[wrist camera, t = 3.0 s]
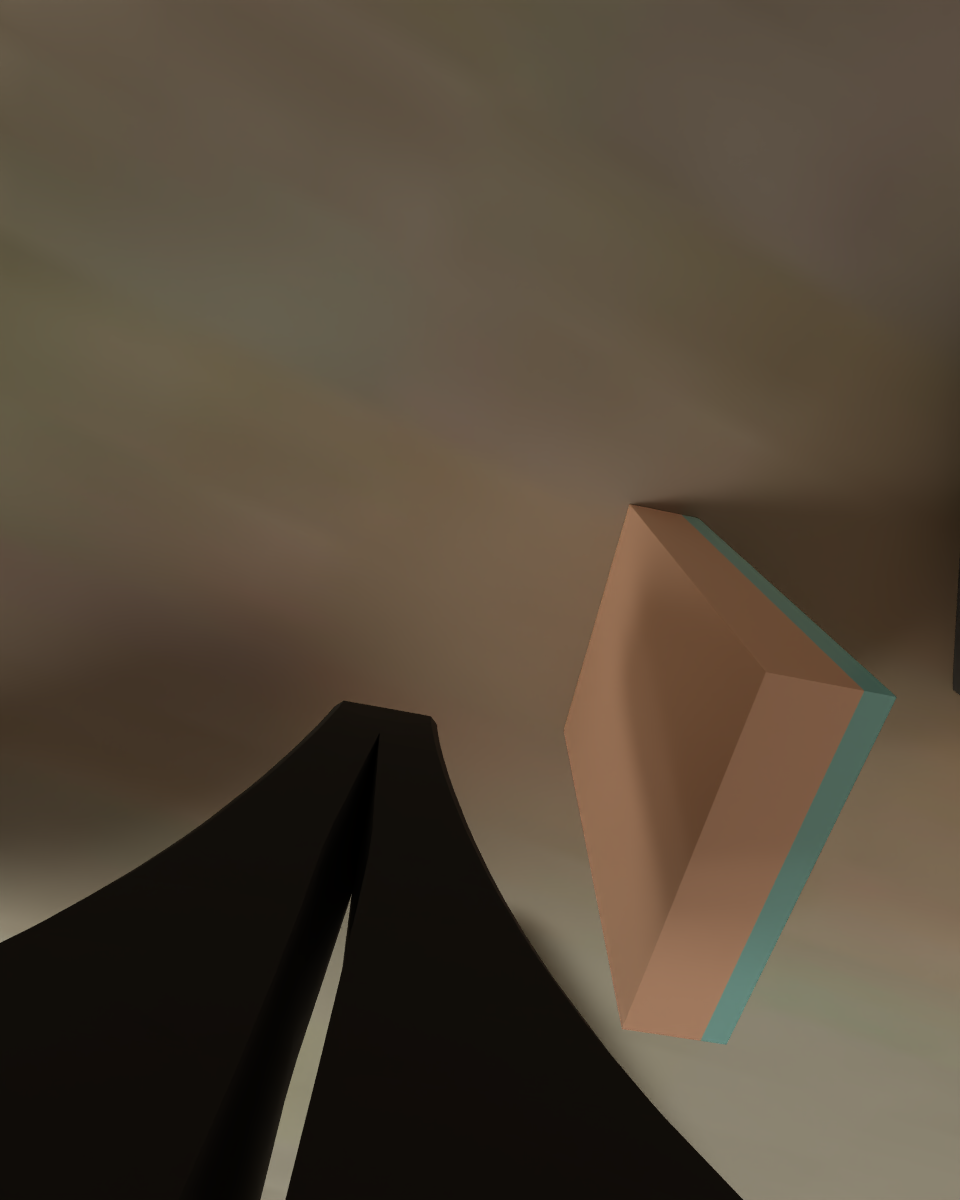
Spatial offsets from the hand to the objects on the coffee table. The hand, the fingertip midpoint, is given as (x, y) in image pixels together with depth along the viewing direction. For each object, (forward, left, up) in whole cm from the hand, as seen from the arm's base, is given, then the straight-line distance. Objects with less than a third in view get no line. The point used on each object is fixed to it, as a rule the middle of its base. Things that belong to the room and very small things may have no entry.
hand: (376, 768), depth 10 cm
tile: (+5, 0, -3) cm, 6 cm away
